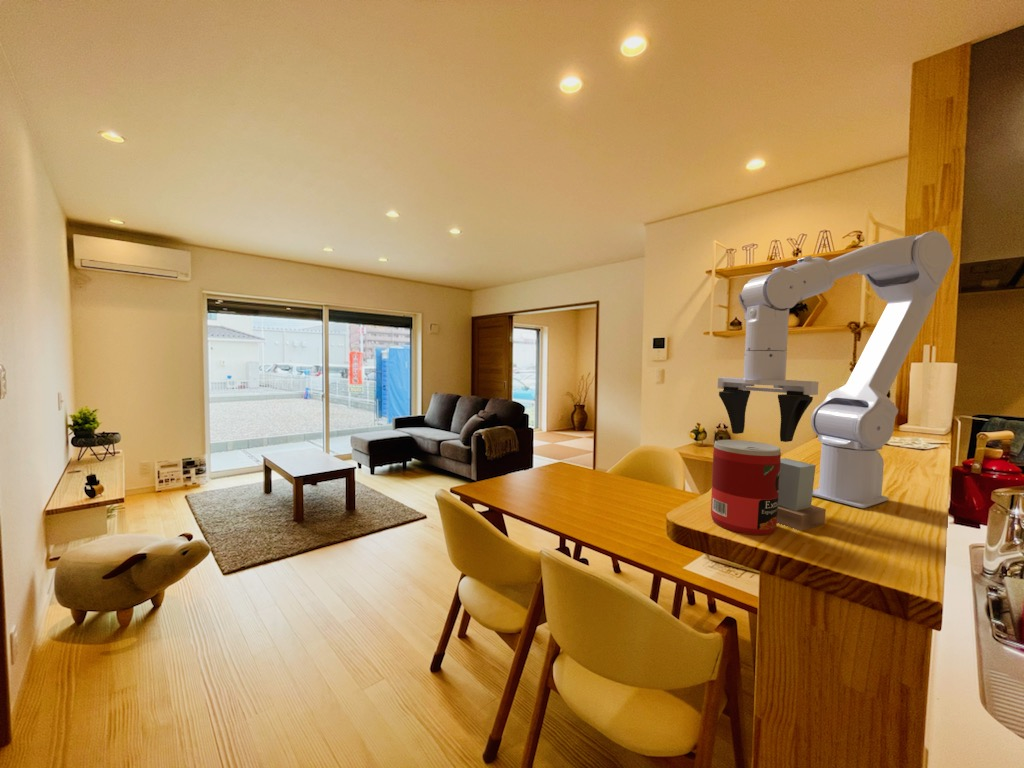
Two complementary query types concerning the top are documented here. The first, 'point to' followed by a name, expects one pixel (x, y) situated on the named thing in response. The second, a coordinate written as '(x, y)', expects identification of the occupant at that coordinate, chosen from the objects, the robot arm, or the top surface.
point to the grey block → (795, 484)
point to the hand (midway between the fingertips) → (760, 437)
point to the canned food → (745, 486)
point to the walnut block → (801, 517)
